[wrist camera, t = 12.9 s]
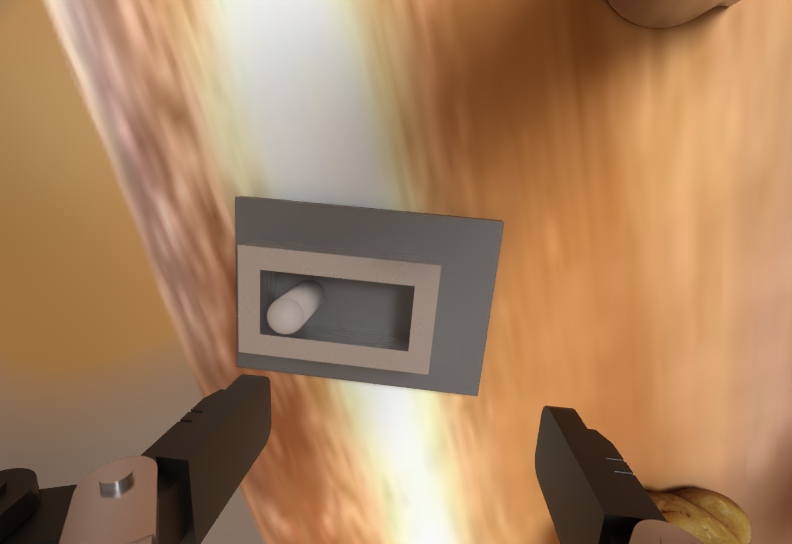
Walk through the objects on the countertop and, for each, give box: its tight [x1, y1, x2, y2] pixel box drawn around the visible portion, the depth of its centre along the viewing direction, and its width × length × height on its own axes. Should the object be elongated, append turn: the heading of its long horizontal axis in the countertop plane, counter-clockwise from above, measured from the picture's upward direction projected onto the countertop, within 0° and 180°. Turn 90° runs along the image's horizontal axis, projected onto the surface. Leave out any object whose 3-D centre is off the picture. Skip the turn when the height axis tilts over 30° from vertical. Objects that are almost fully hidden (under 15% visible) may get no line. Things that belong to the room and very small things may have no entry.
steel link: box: [238, 239, 441, 375], centre depth 27 cm, size 14×8×3 cm, turn 85°
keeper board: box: [235, 196, 504, 396], centre depth 26 cm, size 20×14×8 cm
